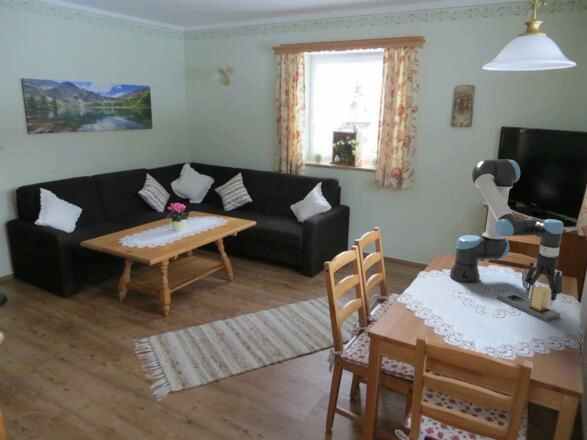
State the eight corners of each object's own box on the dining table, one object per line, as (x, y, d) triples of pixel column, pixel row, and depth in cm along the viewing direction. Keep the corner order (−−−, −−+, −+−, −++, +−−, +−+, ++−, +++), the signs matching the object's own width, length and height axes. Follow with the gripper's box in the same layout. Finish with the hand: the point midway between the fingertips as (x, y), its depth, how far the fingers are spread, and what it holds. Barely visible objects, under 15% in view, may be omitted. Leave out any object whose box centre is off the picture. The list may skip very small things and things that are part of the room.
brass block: (530, 311, 195) (534, 287, 192) (536, 309, 197) (541, 285, 194) (539, 315, 191) (543, 291, 188) (546, 314, 193) (550, 289, 190)
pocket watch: (526, 266, 221) (559, 274, 212) (523, 286, 224) (555, 294, 214) (520, 272, 214) (555, 280, 204) (517, 292, 217) (551, 301, 207)
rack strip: (496, 298, 209) (496, 294, 208) (508, 295, 213) (509, 291, 212) (546, 321, 186) (547, 317, 186) (559, 317, 190) (560, 313, 189)
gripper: (520, 248, 195) (513, 294, 200) (566, 263, 176) (557, 313, 182) (531, 246, 198) (524, 291, 204) (578, 261, 180) (568, 310, 185)
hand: (540, 302), depth 193 cm, fingers open, 8 cm apart
